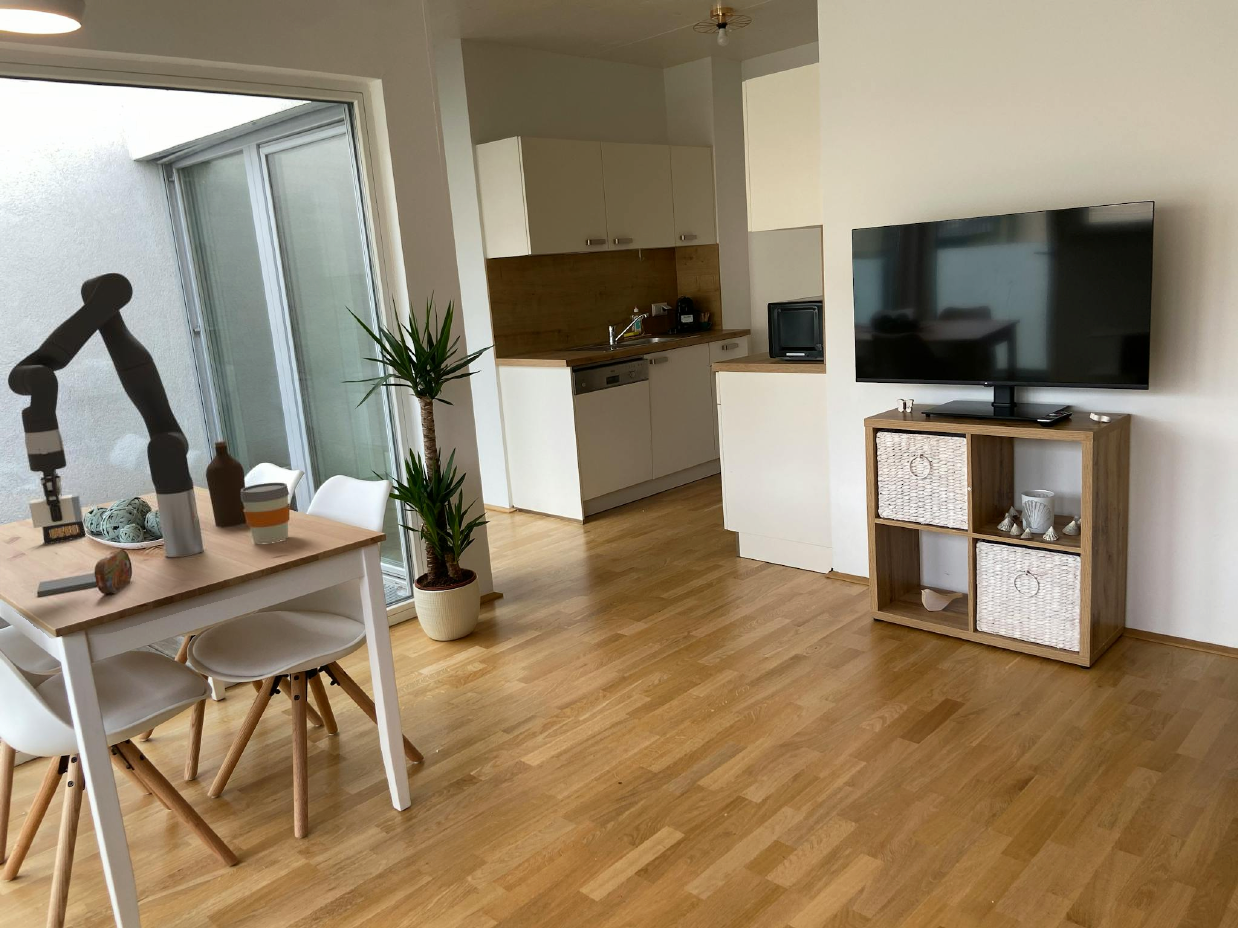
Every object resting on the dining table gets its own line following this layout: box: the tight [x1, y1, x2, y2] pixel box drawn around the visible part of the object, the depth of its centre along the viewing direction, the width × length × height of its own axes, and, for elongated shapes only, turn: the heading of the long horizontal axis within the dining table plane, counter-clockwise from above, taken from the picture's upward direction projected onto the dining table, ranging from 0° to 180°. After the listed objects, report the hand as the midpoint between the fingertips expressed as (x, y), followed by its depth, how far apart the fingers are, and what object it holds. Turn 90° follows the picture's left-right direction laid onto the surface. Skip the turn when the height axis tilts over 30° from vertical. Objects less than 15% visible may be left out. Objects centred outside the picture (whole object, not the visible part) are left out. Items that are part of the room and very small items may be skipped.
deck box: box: [28, 492, 84, 529], centre depth 226 cm, size 5×10×6 cm, turn 118°
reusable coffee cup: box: [241, 482, 290, 544], centre depth 261 cm, size 13×13×15 cm
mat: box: [36, 572, 98, 598], centre depth 229 cm, size 13×9×1 cm
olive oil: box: [205, 440, 247, 527], centre depth 284 cm, size 11×11×25 cm
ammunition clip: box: [41, 520, 87, 544], centre depth 277 cm, size 11×2×12 cm, turn 128°
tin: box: [93, 549, 133, 595], centre depth 225 cm, size 15×3×8 cm, turn 7°
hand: (58, 518), depth 226 cm, fingers closed on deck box, 4 cm apart
